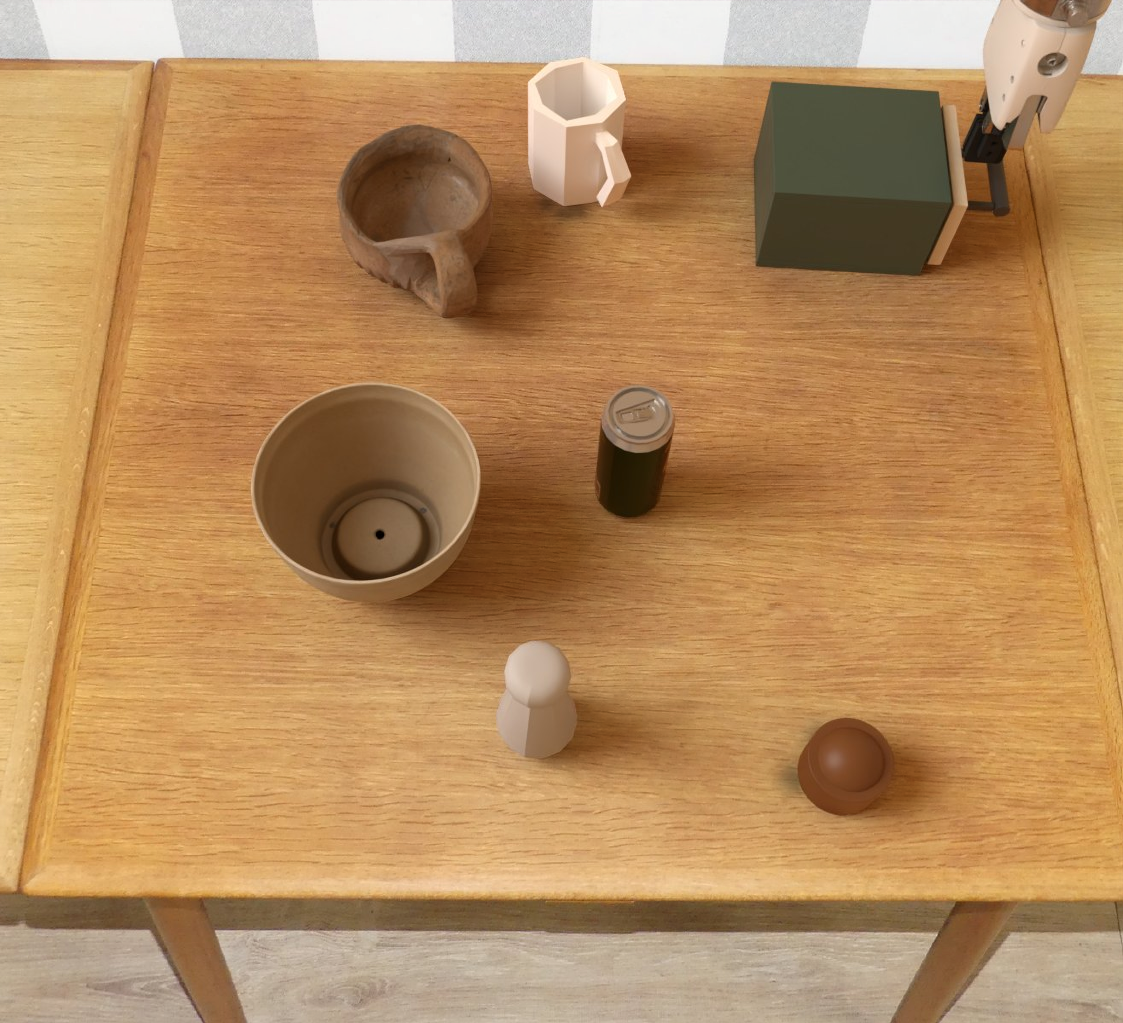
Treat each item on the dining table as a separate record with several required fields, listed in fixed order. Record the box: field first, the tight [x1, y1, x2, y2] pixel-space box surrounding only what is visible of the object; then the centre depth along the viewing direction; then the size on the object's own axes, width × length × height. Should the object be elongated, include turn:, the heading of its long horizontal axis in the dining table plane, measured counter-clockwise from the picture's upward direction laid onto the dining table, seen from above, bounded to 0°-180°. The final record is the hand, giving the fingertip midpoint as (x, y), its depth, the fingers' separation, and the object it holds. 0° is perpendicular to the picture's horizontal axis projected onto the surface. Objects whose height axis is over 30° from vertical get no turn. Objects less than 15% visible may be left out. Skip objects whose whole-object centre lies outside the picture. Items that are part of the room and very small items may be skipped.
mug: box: [527, 56, 632, 208], centre depth 109 cm, size 12×9×10 cm
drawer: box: [926, 104, 1011, 266], centre depth 108 cm, size 18×11×8 cm, turn 87°
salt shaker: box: [495, 640, 579, 760], centre depth 83 cm, size 6×6×13 cm
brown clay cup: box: [336, 124, 494, 319], centre depth 105 cm, size 18×14×10 cm
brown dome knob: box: [797, 717, 895, 816], centre depth 86 cm, size 6×6×5 cm
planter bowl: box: [250, 381, 482, 604], centre depth 91 cm, size 16×16×11 cm
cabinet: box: [753, 81, 952, 277], centre depth 108 cm, size 15×13×10 cm
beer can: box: [594, 384, 676, 519], centre depth 93 cm, size 5×5×12 cm
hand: (980, 155), depth 104 cm, fingers closed
